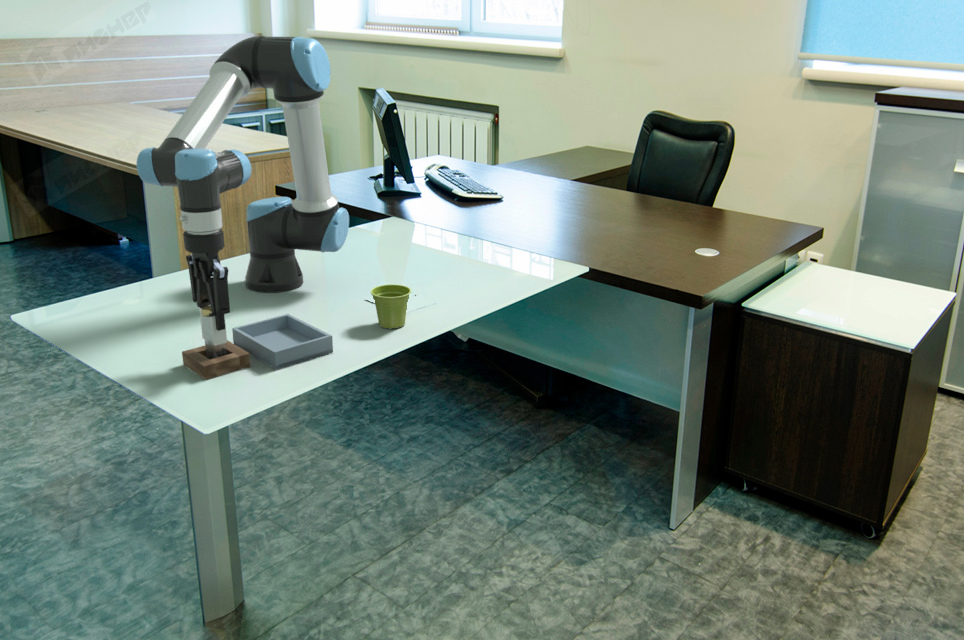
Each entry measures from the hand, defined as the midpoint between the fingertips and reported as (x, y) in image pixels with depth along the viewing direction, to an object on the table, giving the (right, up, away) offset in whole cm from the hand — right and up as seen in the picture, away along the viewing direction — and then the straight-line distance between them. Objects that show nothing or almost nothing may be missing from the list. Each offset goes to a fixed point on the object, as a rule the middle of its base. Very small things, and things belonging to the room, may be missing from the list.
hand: (214, 339), depth 169 cm
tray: (+11, -2, +11) cm, 16 cm away
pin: (0, -5, +2) cm, 5 cm away
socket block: (0, -5, +2) cm, 6 cm away
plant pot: (+34, +3, +26) cm, 43 cm away
